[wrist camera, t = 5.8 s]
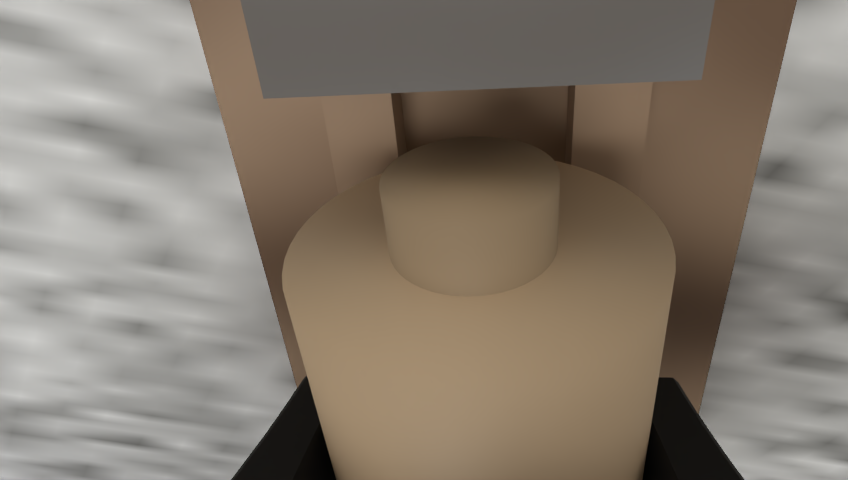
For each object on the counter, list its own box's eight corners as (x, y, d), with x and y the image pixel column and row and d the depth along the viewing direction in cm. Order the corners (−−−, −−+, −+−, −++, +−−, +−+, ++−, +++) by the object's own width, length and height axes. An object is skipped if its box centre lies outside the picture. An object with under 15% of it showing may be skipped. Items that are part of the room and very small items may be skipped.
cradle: (668, 476, 19) (716, 667, 15) (333, 466, 20) (291, 640, 16) (800, -137, 10) (1011, -90, 6) (191, -88, 11) (15, -21, 7)
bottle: (603, 492, 15) (637, 751, 11) (395, 483, 16) (355, 722, 12) (645, 89, 10) (745, 310, 5) (320, 103, 10) (194, 310, 6)
